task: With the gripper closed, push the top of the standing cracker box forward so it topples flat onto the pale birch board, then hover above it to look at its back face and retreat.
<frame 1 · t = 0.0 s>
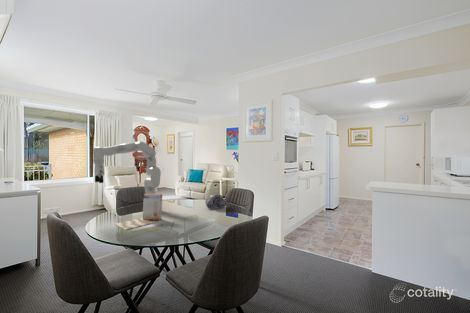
hand: (99, 182, 195), 31 cm above the table, tool pointing down, fingers open, 9 cm apart
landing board: (134, 223, 183), on the table
cracker box: (152, 219, 194), on the table, touching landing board
toy elephant: (216, 208, 233), on the table
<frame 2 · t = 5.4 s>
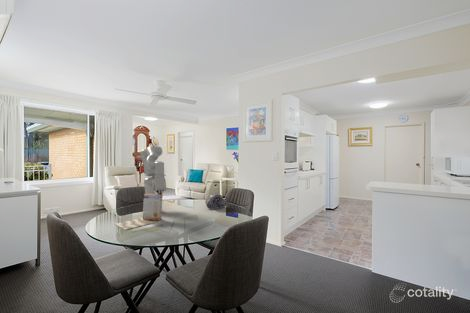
hand: (159, 197, 199), 17 cm above the table, tool pointing down, fingers closed
nothing on the table moved.
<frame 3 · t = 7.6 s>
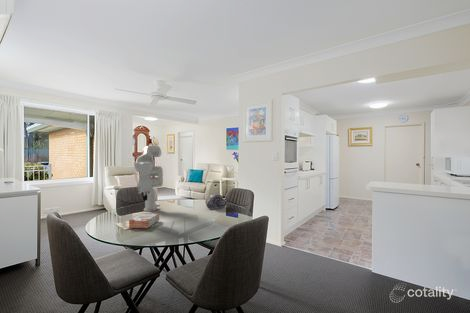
hand: (145, 200, 189), 17 cm above the table, tool pointing down, fingers closed
cracker box: (151, 216, 191), point 4 cm above the table, touching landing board
everything else where it was.
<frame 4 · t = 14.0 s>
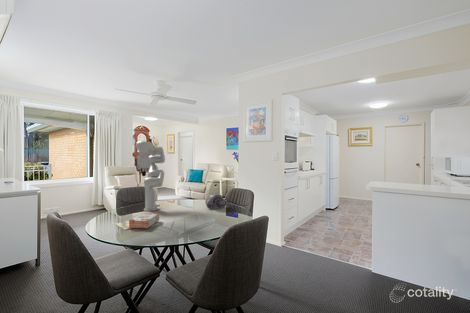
hand: (143, 176, 207), 35 cm above the table, tool pointing down, fingers closed
nothing on the table moved.
at the end: cracker box tilted 91°; cracker box touching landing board; cracker box inside the target area (4.7 cm from its centre), point 3.7 cm above the table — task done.
